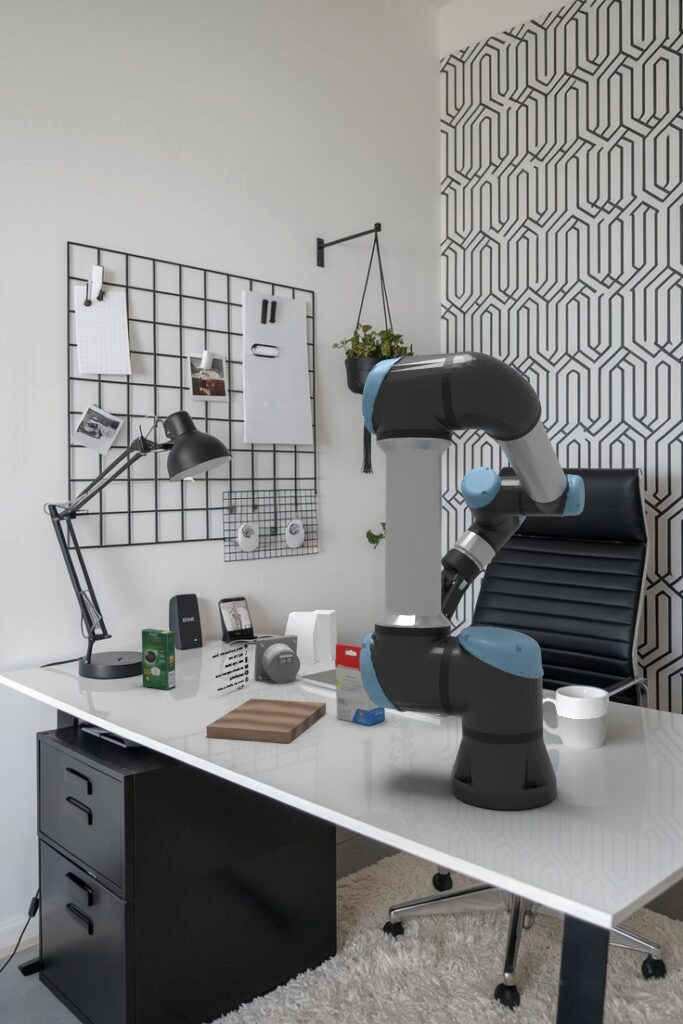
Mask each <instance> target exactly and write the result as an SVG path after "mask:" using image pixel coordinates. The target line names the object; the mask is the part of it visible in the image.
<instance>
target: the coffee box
mask: <svg viewBox="0 0 683 1024" xmlns="http://www.w3.org/2000/svg"><path fill="white" fill-rule="evenodd" d="M175 636H176V635H175V631H172V630H162V629H156V628H155V629H154V628H145V629H141V653H142V657H141V660H142V687H145V688H152V689H160V690H162V691H163V690H165V691H170V690H173V689H175V688H176V646H175V645H176V640H175V639H176V638H175Z"/></svg>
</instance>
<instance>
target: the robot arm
mask: <svg viewBox="0 0 683 1024" xmlns="http://www.w3.org/2000/svg"><path fill="white" fill-rule="evenodd" d="M361 400H362V401H361V413H362V416H363V417H364V419H363V422H364V425H365V428H366V429H367V431H368V432H369V433H370V434H372V435H374V436H376V439H375V440H376V441H375V442H376V446H377V447H378V448H379V449H380V450H381V451H382V452H383V453H384V455H385V525H384V526H385V534H384V535H385V539H384V541H385V543H384V545H385V546H384V548H385V549H384V554H385V556H384V561H385V562H384V611H383V612H382V613H381V614H380V615H379V617H377V618H376V620H375V621H374V630H373V631H371V632H369V633H367V634H366V635H365V636H364V638H363V639H362V640H363V641H362V643H361V647H362V649H361V650H360V673H361V679H362V683H363V686H364V689H365V691H366V693H367V695H368V696H369V698H370V700H371V701H372V702H373V703H374V704H376V705H377V706H379V707H382V708H384V709H388V710H389V709H390V710H395V711H397V712H399V713H405V712H413V713H422V714H431V715H433V714H434V715H441V716H443V715H444V716H452V717H453V716H454V717H460V718H461V740H460V744H459V745H458V746H459V747H458V750H457V754H456V756H455V760H454V762H453V766H452V770H451V774H450V786H451V787H450V790H451V792H452V794H453V796H454V797H456V798H457V799H459V800H460V801H463V802H464V803H467V804H470V805H472V806H476V807H477V806H478V807H480V808H481V807H482V808H485V809H486V808H487V809H492V810H493V809H494V810H507V811H508V810H510V811H511V810H512V811H513V810H524V809H532V808H537V807H541V806H544V805H546V804H548V803H550V802H551V801H553V800H554V799H555V798H556V796H557V793H558V792H557V791H558V790H557V777H556V776H557V775H556V773H555V769H554V767H553V764H552V762H551V759H550V755H549V753H548V749H547V747H546V744H545V740H544V706H543V705H544V704H543V702H544V699H543V698H544V697H543V690H544V689H543V688H544V687H543V676H544V675H545V673H544V668H543V664H542V663H543V662H542V651H541V647H540V645H539V643H538V641H536V640H535V639H534V638H533V637H531V636H529V635H527V634H525V633H523V632H519V631H516V630H512V629H509V628H508V629H507V628H503V627H494V626H476V625H475V626H467V627H464V628H462V629H461V630H460V632H459V635H458V636H454V635H452V624H451V622H452V621H451V620H452V618H453V616H454V614H455V612H456V610H457V608H458V606H459V604H460V602H461V600H462V598H463V597H464V595H465V593H466V592H467V590H468V589H469V588H470V587H471V585H472V584H473V583H474V582H475V580H476V579H477V578H478V576H479V575H480V574H481V570H484V569H485V568H486V567H487V566H488V565H490V564H491V563H492V559H493V558H494V557H495V556H496V555H497V554H498V552H499V551H500V550H501V549H502V547H503V546H504V545H506V543H507V542H508V541H509V540H510V538H511V537H512V536H513V535H514V534H515V533H516V532H517V531H518V530H519V528H520V527H521V525H522V524H523V522H524V521H525V520H526V518H527V517H561V518H562V517H563V518H564V517H566V516H568V517H569V516H578V515H580V514H581V513H582V512H583V511H584V507H585V498H586V494H585V493H586V492H585V491H586V490H585V483H584V479H583V477H582V476H580V475H578V474H569V473H567V474H565V473H564V469H563V467H562V465H561V462H560V461H559V458H558V455H557V454H556V452H555V449H554V448H553V447H554V446H553V445H552V441H550V438H549V436H548V433H547V431H546V429H545V426H544V424H543V422H542V418H541V417H542V413H543V412H542V404H541V401H540V399H539V396H538V394H537V392H536V390H535V388H534V387H533V386H532V384H531V383H530V382H529V380H527V379H526V378H525V377H524V376H523V375H522V374H521V373H520V372H519V371H518V370H516V369H515V368H514V367H513V366H511V365H509V364H507V362H504V361H503V360H501V359H499V358H497V357H495V356H493V355H489V354H486V353H483V352H480V351H471V350H470V351H469V350H466V351H464V350H463V351H458V352H450V353H449V352H448V353H446V352H445V353H434V354H421V355H407V356H406V355H402V356H400V357H396V358H391V359H390V358H389V359H385V360H383V359H382V360H381V361H380V362H377V363H376V364H375V365H374V366H373V368H372V369H371V371H369V373H368V375H367V377H366V380H365V384H364V387H363V392H362V398H361ZM466 430H478V431H479V430H480V431H484V433H485V434H486V436H487V437H489V438H490V439H492V440H495V441H497V443H498V444H499V446H500V448H501V451H503V454H504V455H505V457H506V458H507V461H508V462H509V464H510V465H511V468H512V470H513V471H514V472H515V476H499V474H498V473H497V472H496V471H495V470H494V469H492V468H490V467H488V466H478V467H474V468H473V469H471V470H469V471H468V472H467V473H466V474H465V475H464V476H463V478H462V479H461V483H460V491H461V494H462V496H463V500H464V502H465V503H464V504H466V506H467V507H468V509H469V512H470V513H471V515H472V516H473V519H474V521H473V522H472V523H471V524H470V525H469V527H468V528H467V529H466V530H465V531H464V532H463V533H462V535H461V536H460V537H459V538H458V539H457V540H456V542H454V544H453V547H454V548H450V549H448V552H446V554H445V555H444V556H443V557H442V523H443V522H442V519H443V518H442V513H443V512H442V504H443V503H442V500H443V499H442V494H443V493H442V489H443V487H442V485H443V484H442V483H443V478H442V477H443V475H442V473H443V472H442V470H443V468H442V467H443V459H442V458H443V455H444V453H445V452H446V451H448V449H449V448H450V447H451V446H452V445H453V432H454V431H455V432H456V431H466ZM442 567H443V570H442Z"/></svg>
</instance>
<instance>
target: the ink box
mask: <svg viewBox="0 0 683 1024" xmlns="http://www.w3.org/2000/svg"><path fill="white" fill-rule="evenodd" d="M361 649H362V646H357V645H350V644H341V643H337V644H336V657H335V658H334V666H335V667H334V668H335V669H334V670H335V671H334V672H335V692H336V696H335V697H336V717H337V719H338V720H342V721H346V722H351V723H355V724H360V725H363V726H364V725H365V726H368V727H369V726H372V725H375V724H378V723H382V722H383V721H385V720H386V717H385V716H386V712H385V709H386V708H382V707H379V706H377V705H376V704H374V703H373V702H372V701H371V700H370V698H369V696H368V695H367V693H366V691H365V689H364V686H363V683H362V679H361V673H360V650H361ZM350 651H352V652H354V653H356V655H355V654H349V653H347V652H350Z"/></svg>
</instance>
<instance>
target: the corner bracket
mask: <svg viewBox="0 0 683 1024" xmlns="http://www.w3.org/2000/svg"><path fill="white" fill-rule="evenodd" d="M337 632H338V631H337V611H336V609H315V610H314V611H292V612H290V613H289V615H288V618H287V623H286V628H285V632H284V636H286V635H295V636H297V654H296V655H297V656H298V658H299V659H300V665H311V666H313V665H315V664H316V663H317V662H319V661H321V662H322V661H323V662H324V661H325V662H332V661H333V660H335V659H336V644H338V640H337V638H338V637H337V636H338V635H337Z"/></svg>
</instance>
